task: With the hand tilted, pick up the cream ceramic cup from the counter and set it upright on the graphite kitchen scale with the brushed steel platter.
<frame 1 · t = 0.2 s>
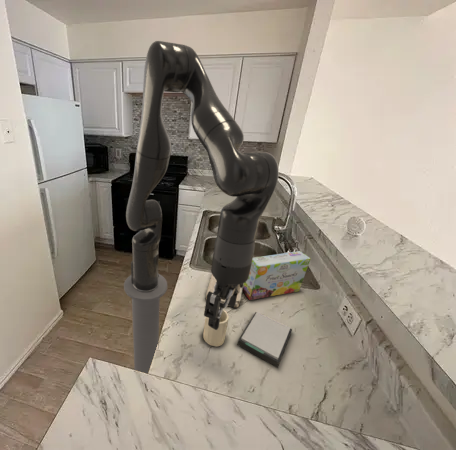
hand: (222, 315, 58), 19 cm above the countertop, tool pointing down, fingers open, 8 cm apart
ceramic cup: (213, 337, 75), on the countertop
kitchen scale: (264, 339, 75), on the countertop
snack box: (270, 292, 94), on the countertop
washcloth: (224, 290, 95), on the countertop
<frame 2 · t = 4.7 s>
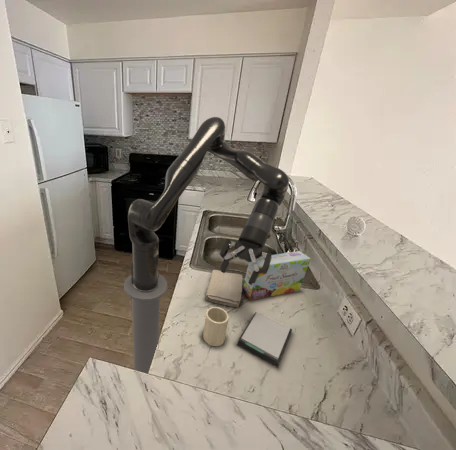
hand: (235, 277, 76), 16 cm above the countertop, tool tilted 45°, fingers open, 8 cm apart
nothing on the countertop moved.
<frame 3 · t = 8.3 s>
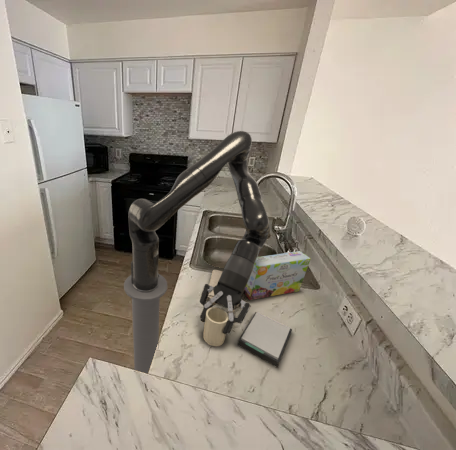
hand: (213, 327, 72), 6 cm above the countertop, tool tilted 45°, fingers closed on ceramic cup, 6 cm apart
ceramic cup: (213, 337, 75), on the countertop, touching gripper
everything else where it was.
when the fingers open (8 cm above the countertop, at t = 17.1 s): ceramic cup stays where it is, resting on kitchen scale.
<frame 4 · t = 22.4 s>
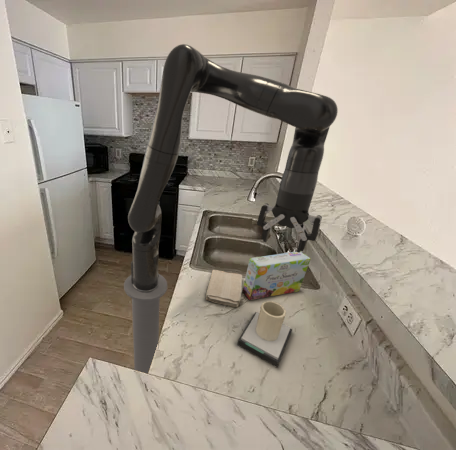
hand: (281, 245, 69), 28 cm above the countertop, tool pointing down, fingers open, 8 cm apart
ceramic cup: (266, 332, 74), point 3 cm above the countertop, touching kitchen scale
everything else where it was.
at the end: ceramic cup inside the target area on the kitchen scale (0.1 cm from its centre), point 2.8 cm above the kitchen scale's base; ceramic cup tilted 0°; the gripper is holding nothing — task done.
